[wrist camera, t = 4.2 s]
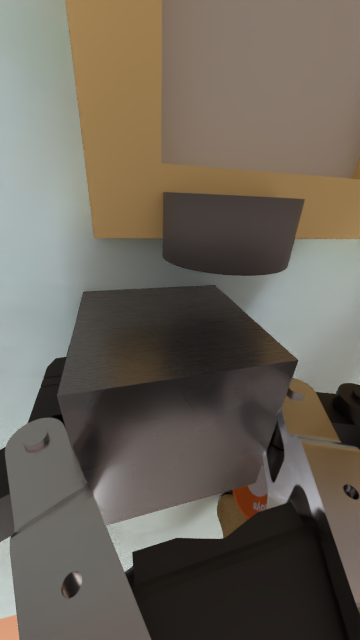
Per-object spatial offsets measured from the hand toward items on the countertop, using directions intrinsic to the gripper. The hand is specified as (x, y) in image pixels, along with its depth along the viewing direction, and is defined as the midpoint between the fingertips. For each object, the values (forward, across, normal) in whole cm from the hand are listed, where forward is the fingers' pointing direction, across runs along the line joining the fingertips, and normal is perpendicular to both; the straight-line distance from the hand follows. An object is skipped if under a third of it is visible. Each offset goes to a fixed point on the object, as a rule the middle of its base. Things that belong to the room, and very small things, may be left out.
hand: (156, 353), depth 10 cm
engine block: (+1, 0, 0) cm, 1 cm away
